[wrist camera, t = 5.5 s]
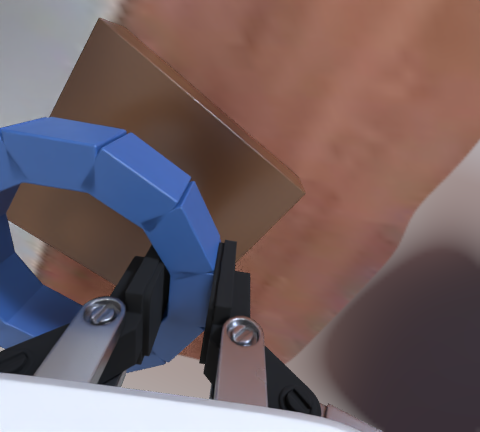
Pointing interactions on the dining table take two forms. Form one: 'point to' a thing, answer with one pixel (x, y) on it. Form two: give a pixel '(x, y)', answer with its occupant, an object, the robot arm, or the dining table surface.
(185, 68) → the dining table surface
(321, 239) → the dining table surface
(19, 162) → the ring
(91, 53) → the platform
